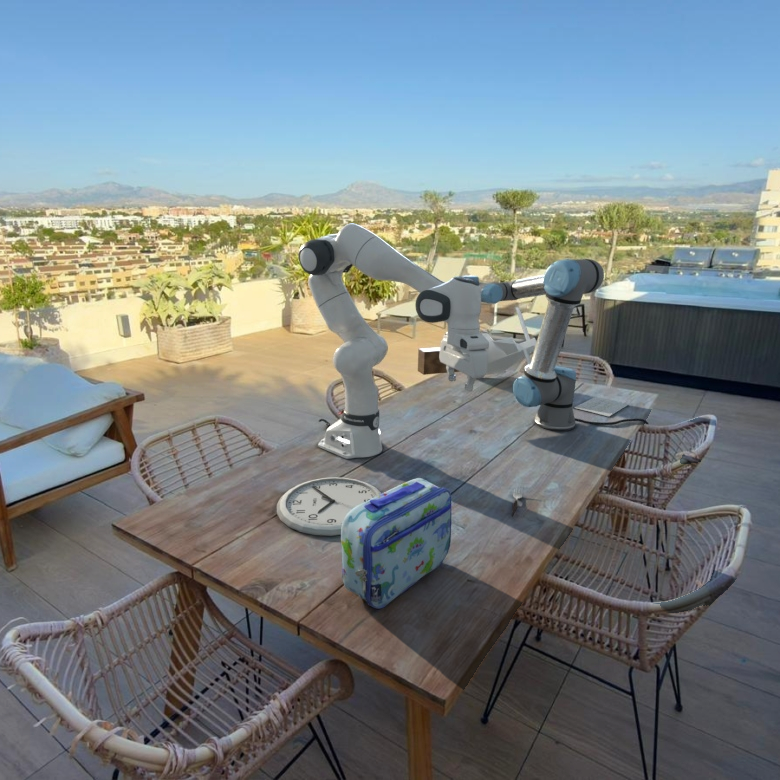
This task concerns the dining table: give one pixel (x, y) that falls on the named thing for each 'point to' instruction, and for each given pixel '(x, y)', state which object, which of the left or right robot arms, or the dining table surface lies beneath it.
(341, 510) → the wall clock
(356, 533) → the lunch box
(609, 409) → the invitation card
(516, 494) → the fork
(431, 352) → the box
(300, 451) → the dining table surface
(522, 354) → the white plastic object
